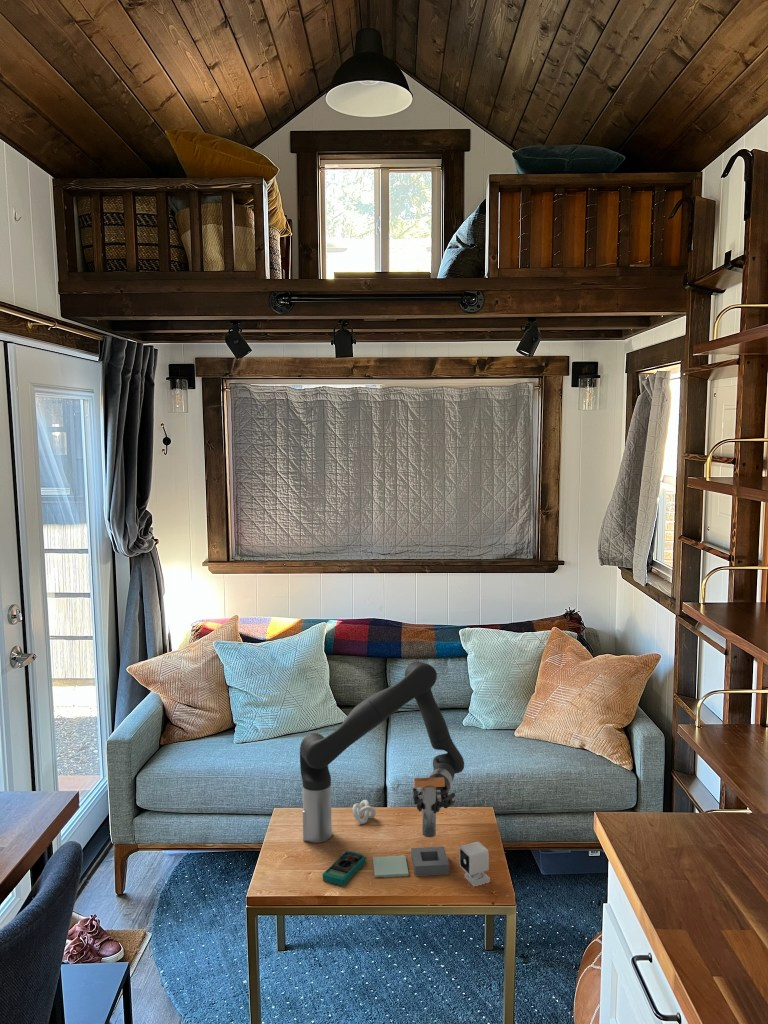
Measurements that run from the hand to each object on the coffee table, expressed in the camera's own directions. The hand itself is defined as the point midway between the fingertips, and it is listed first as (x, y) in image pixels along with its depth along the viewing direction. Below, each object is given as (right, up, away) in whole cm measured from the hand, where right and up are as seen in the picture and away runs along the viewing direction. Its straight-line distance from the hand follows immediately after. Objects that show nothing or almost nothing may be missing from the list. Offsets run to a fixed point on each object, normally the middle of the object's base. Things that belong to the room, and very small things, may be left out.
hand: (427, 809), depth 222 cm
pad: (-11, -19, +3) cm, 22 cm away
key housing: (+1, -19, +4) cm, 19 cm away
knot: (-20, -17, +33) cm, 42 cm away
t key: (+1, -9, +3) cm, 9 cm away
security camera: (+14, -19, -4) cm, 24 cm away
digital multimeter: (-25, -20, +2) cm, 32 cm away
